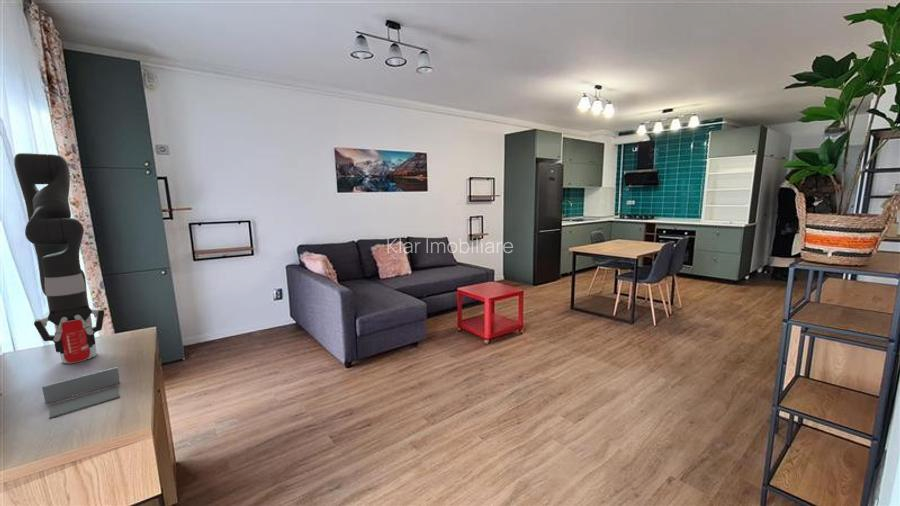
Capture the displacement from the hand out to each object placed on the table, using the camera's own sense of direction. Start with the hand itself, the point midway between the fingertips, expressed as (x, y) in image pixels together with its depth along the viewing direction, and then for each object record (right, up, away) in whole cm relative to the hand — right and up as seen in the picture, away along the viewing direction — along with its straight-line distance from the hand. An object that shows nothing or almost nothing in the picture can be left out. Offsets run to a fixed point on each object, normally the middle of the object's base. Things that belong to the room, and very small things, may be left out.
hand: (76, 349), depth 103 cm
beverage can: (0, -3, +1) cm, 3 cm away
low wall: (-6, -15, +8) cm, 18 cm away
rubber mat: (0, -16, +2) cm, 16 cm away
